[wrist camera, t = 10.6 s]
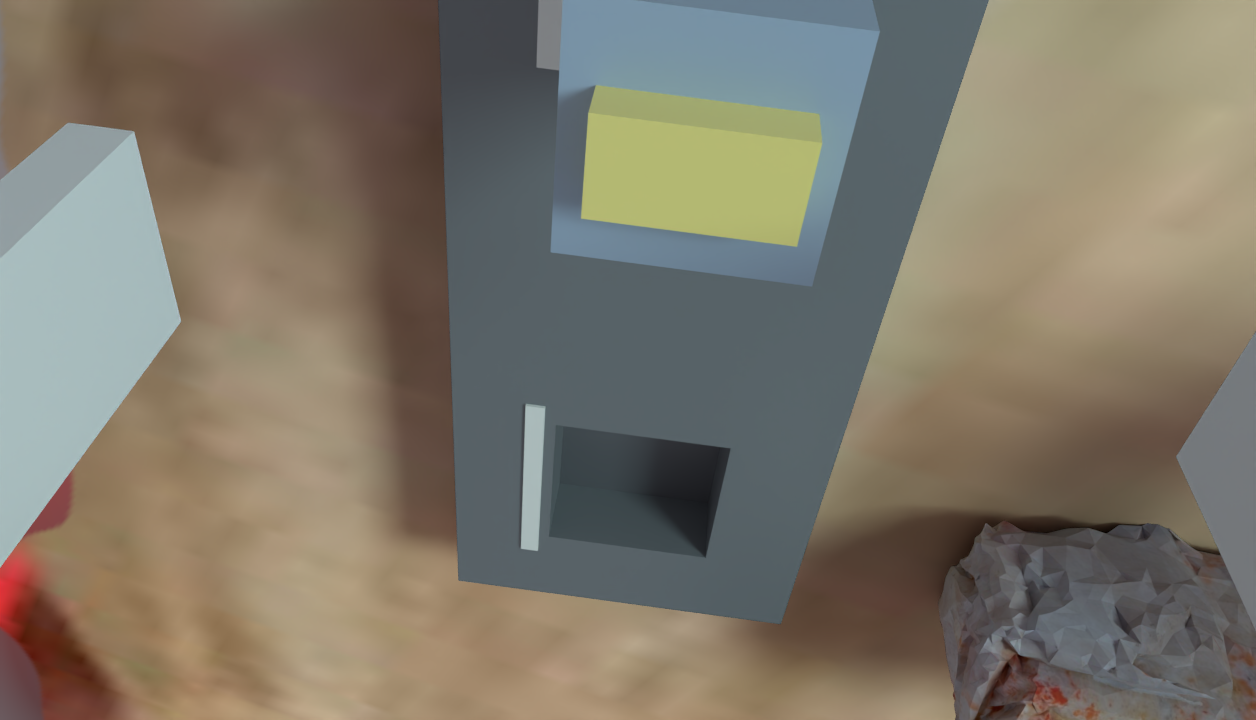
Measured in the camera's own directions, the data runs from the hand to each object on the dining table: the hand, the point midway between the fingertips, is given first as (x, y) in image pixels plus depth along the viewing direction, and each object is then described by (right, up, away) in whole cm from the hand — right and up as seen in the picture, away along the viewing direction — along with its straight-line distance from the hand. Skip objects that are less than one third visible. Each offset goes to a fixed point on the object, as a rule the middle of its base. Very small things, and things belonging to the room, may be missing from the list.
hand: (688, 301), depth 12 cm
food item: (+18, -9, +26) cm, 33 cm away
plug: (+1, +10, +11) cm, 15 cm away
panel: (+1, +4, +17) cm, 18 cm away
